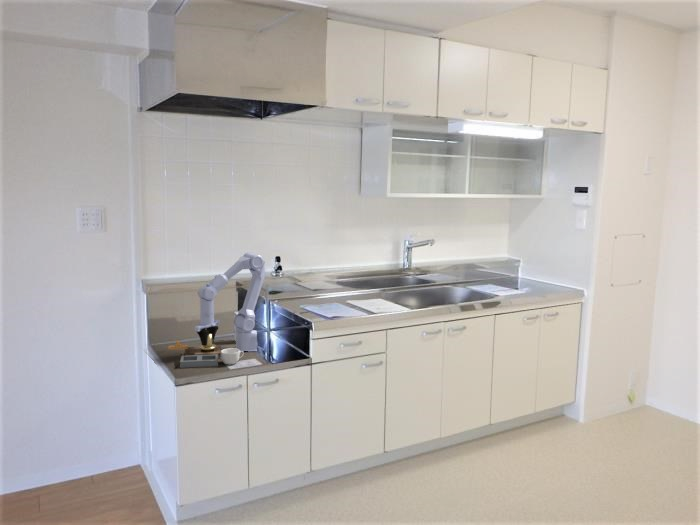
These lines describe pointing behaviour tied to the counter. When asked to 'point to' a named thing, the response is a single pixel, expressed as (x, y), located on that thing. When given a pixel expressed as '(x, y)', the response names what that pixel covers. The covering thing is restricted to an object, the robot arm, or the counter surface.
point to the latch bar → (178, 346)
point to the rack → (199, 361)
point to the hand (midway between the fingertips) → (207, 343)
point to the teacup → (230, 355)
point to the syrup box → (235, 326)
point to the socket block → (200, 352)
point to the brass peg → (208, 344)
